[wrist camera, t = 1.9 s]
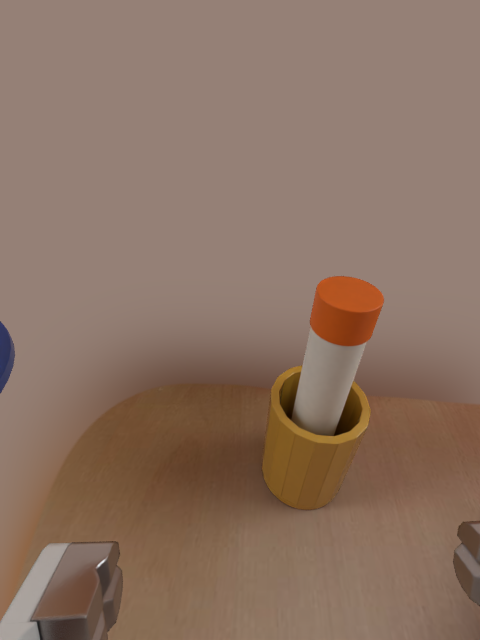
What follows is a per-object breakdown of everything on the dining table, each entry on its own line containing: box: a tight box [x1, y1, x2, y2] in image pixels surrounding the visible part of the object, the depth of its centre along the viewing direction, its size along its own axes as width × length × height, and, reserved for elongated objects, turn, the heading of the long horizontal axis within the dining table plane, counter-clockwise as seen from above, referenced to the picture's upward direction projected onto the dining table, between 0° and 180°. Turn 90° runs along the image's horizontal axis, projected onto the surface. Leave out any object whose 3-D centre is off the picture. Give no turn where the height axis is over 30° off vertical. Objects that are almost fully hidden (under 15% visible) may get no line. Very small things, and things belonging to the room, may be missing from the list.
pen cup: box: [262, 365, 371, 510], centre depth 22 cm, size 6×6×8 cm
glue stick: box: [291, 276, 384, 436], centre depth 20 cm, size 3×3×15 cm
